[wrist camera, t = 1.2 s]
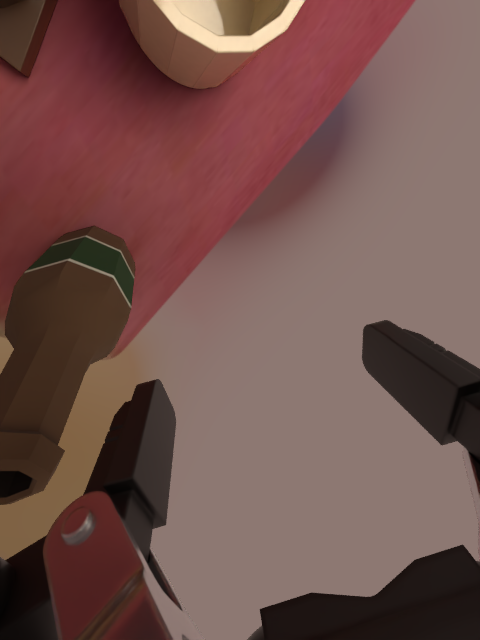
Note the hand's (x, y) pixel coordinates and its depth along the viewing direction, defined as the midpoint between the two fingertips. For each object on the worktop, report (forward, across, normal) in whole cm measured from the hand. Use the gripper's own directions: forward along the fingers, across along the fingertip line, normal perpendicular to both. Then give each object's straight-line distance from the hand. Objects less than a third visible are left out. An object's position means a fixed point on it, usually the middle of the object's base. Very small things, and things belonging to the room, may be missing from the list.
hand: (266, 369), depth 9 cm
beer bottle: (+23, +14, -3) cm, 27 cm away
